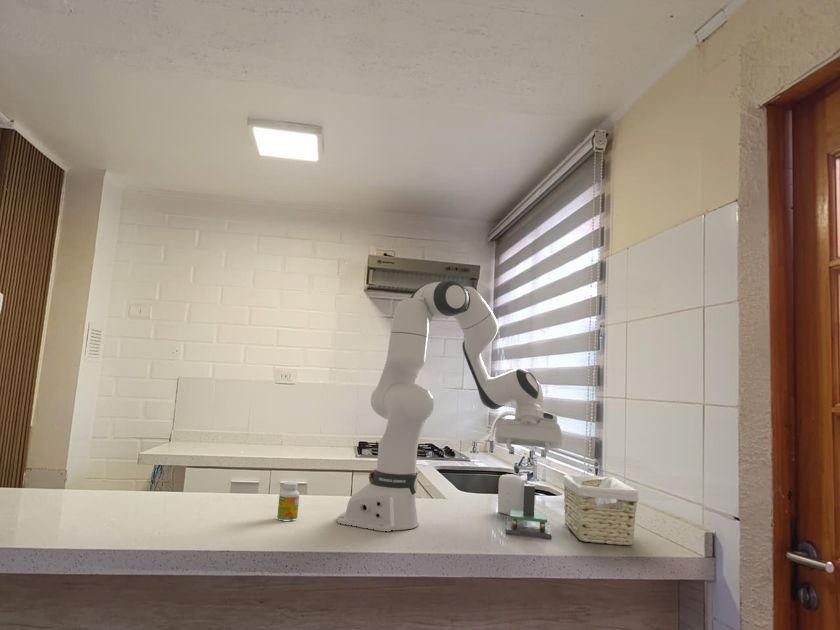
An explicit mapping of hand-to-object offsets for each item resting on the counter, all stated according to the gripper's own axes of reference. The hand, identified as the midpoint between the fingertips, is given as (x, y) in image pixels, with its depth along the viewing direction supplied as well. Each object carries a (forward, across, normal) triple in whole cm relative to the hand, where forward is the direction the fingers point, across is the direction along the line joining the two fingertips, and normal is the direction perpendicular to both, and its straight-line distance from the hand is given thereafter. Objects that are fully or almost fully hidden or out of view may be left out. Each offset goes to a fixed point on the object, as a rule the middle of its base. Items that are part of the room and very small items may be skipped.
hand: (527, 454), depth 161 cm
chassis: (+19, +1, +9) cm, 21 cm away
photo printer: (+7, -4, +22) cm, 23 cm away
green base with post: (+17, +1, +6) cm, 18 cm away
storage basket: (+16, +20, +13) cm, 29 cm away
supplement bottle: (+32, -64, -2) cm, 72 cm away
